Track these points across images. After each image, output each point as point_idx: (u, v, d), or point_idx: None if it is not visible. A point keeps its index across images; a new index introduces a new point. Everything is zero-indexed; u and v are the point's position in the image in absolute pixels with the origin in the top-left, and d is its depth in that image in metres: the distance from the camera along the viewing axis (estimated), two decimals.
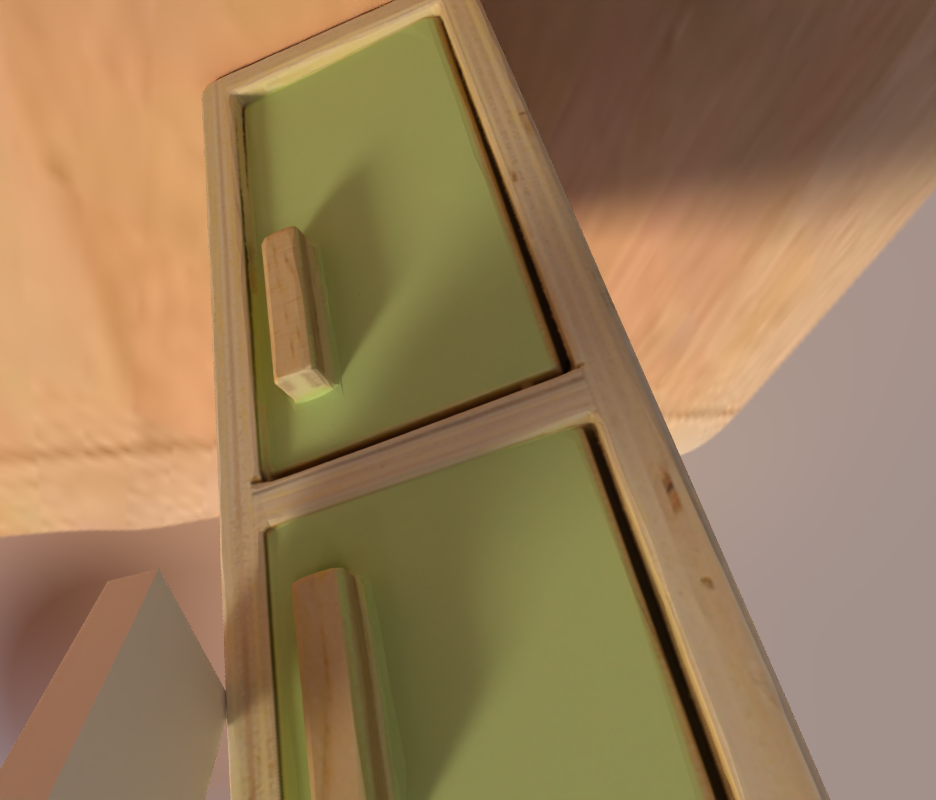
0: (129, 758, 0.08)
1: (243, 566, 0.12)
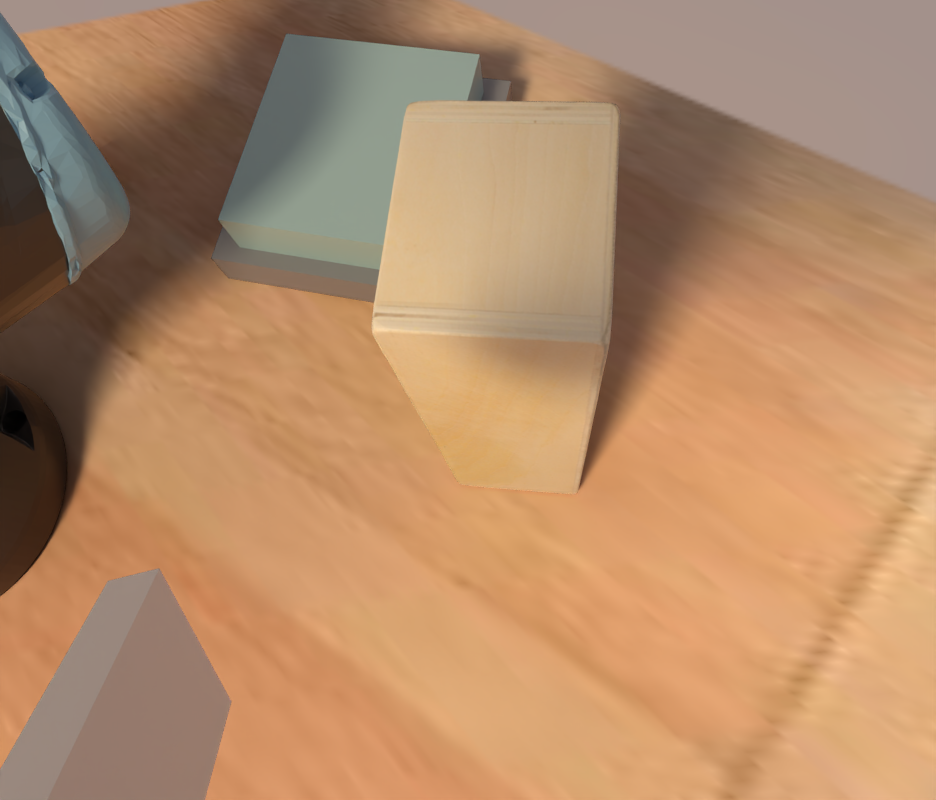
0: (129, 758, 0.08)
1: None
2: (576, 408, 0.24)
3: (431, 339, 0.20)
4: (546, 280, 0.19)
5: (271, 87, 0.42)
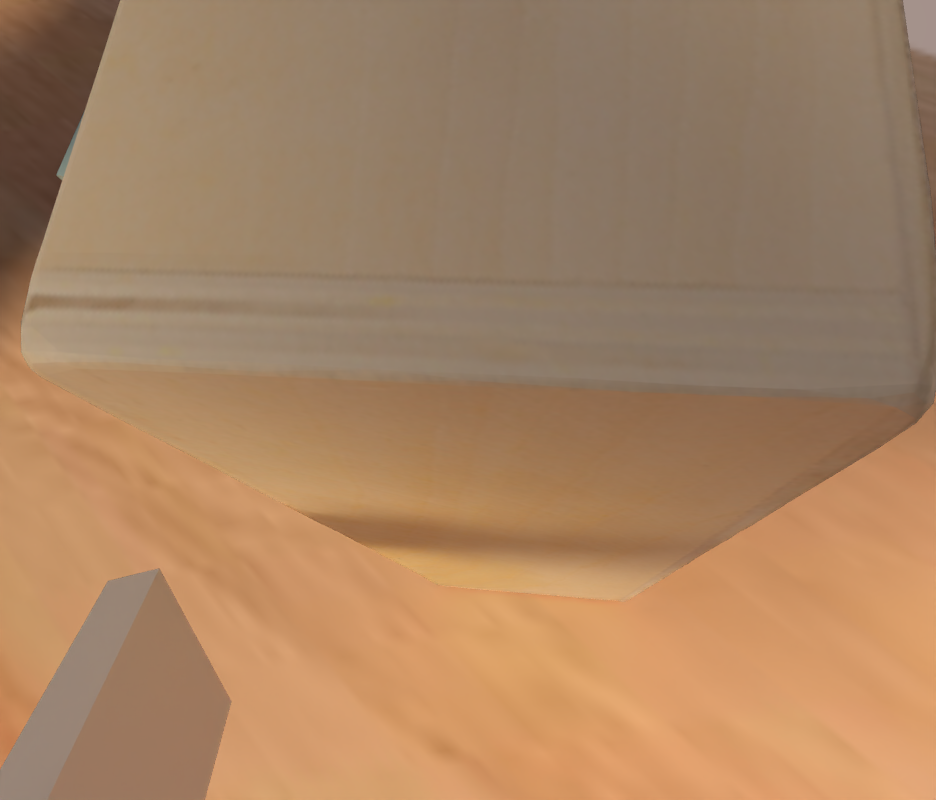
0: (129, 758, 0.08)
1: None
2: (685, 535, 0.10)
3: (241, 390, 0.05)
4: (660, 160, 0.05)
5: None
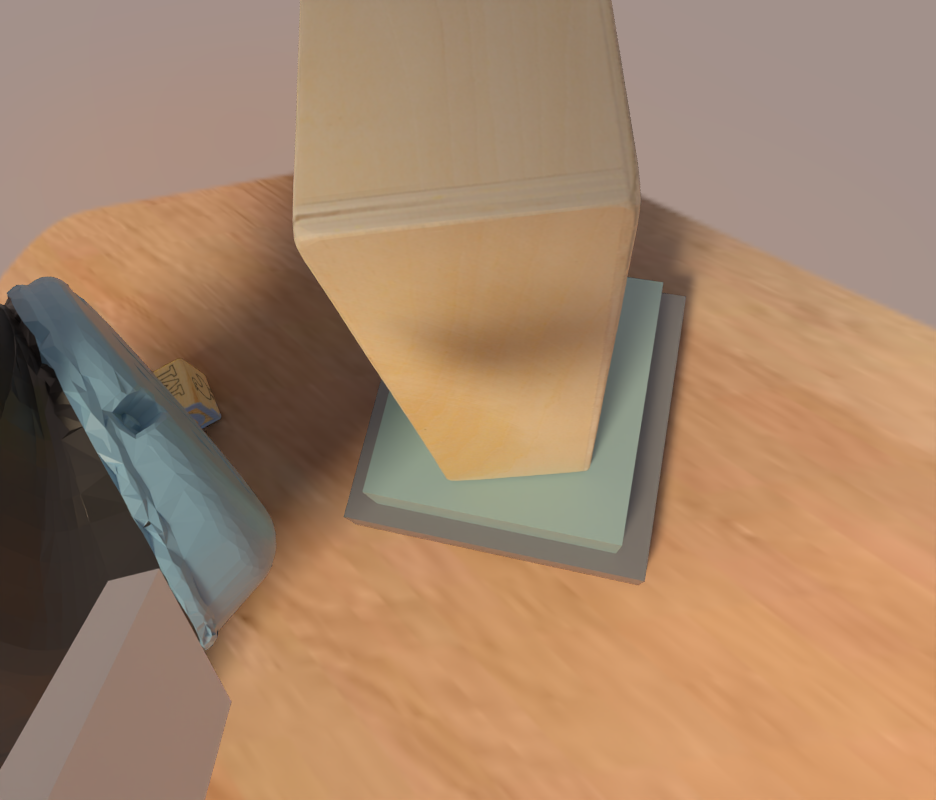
0: (129, 758, 0.08)
1: None
2: (591, 337, 0.18)
3: (384, 242, 0.13)
4: (534, 132, 0.13)
5: None
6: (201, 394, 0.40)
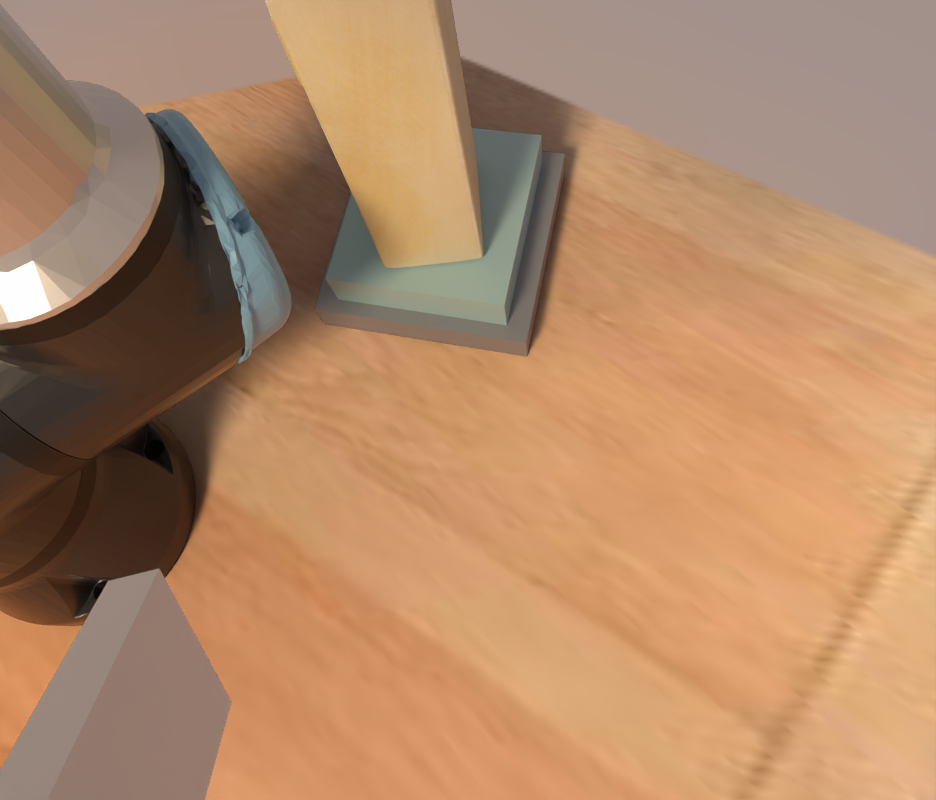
0: (129, 758, 0.08)
1: None
2: (438, 89, 0.32)
3: (309, 0, 0.27)
4: None
5: None
6: None
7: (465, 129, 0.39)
